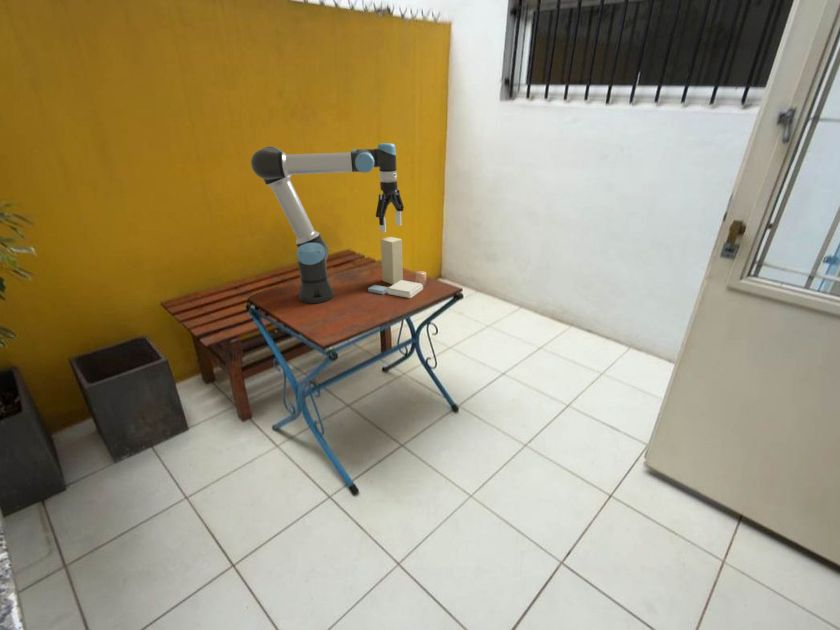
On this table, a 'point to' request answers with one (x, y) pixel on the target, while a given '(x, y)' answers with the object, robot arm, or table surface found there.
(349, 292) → the table surface
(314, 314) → the table surface
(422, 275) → the peach egg shape
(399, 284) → the podium
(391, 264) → the tall cream block
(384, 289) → the book
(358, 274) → the table surface
